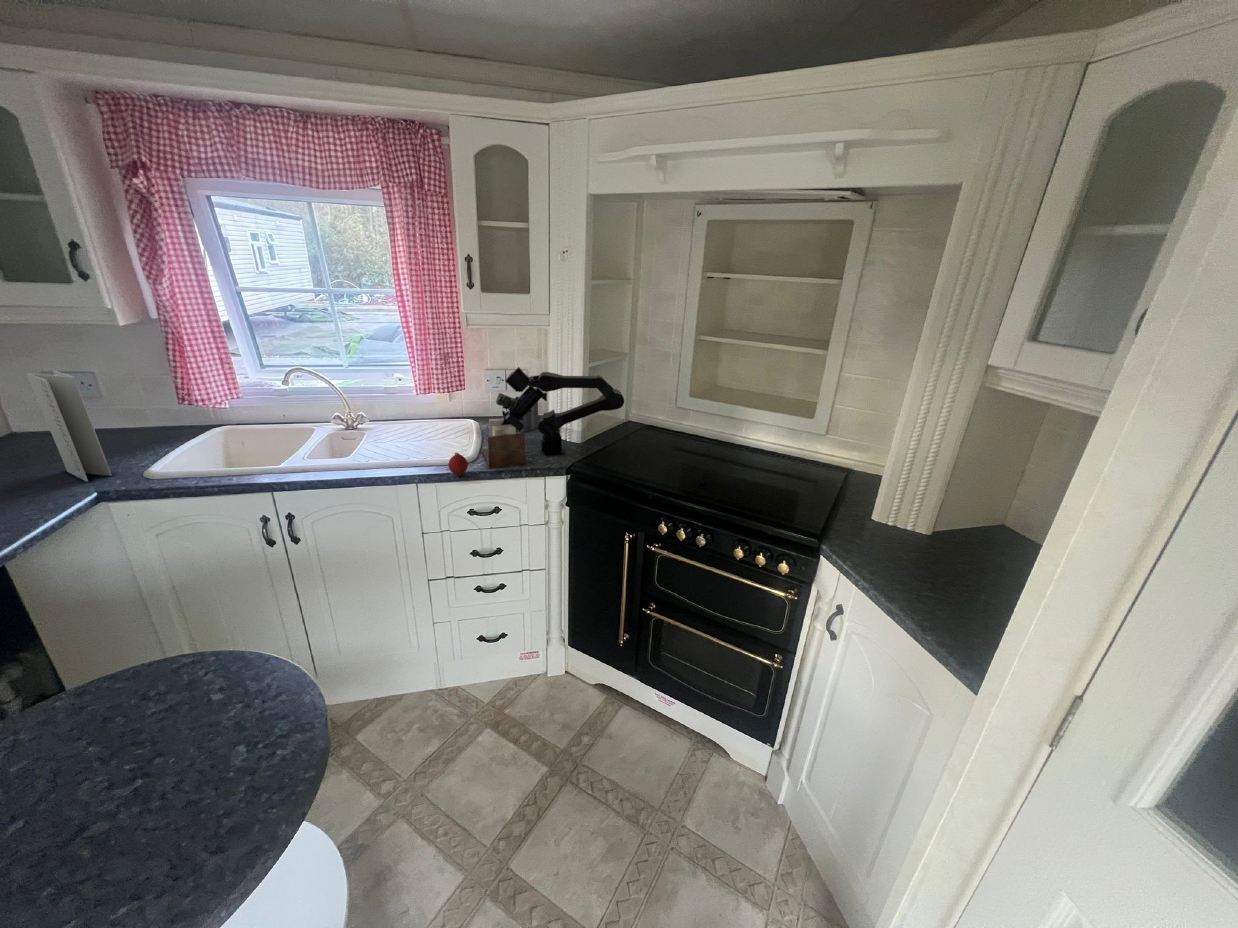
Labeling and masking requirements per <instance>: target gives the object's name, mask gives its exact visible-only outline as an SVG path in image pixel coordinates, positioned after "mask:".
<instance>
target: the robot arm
mask: <svg viewBox="0 0 1238 928" xmlns="http://www.w3.org/2000/svg"><path fill="white" fill-rule="evenodd" d="M504 382H505V383H506V384H507V385H508V386H509V387H510V388H512V389H513V390H514V391H515V392H516V393H521V394H520V396H516V397H511V396H509V395H506V394H505V393H501V392H499V393H498V394H497V397H496V399H495V402H496V405H498V406H499V407H500V406H501V407H502V410H501V411H502V413H501V414H502V418H501V419H503V418H504V421H503V423H502V424H501V425H512V426H513V427H515V428H516V429H517V430H518V431H517V432H520V431H521V430H522V429H523V422H522V420H523V417H524V416H525V415H526V414H527V413H528V412H531V411H532V410H531V408H532V407H533V406H534V405H535V404H536V403H537V402H538V403H539V401H540V400H541V399H542V400H543V401H545V402H547V401H548V398H547V397H548V392H553V391H557V390H562V389H597V390H598V391H599V392H600V393H601V396H600V397H598V398H597V399H593V400H591V401H589V402H586V403H583V404H581V405H579V406H575V407H573V408H570V409H568V410H565V411H562V412H555V409H552V410H550V411H548V412H543V415H541V416H540V417H539V418H538V428H537V429H538V431H539V433H540V434H542V439H541V442H540V443H541V451H542V453H543V454H544V455H545V456H555V455H563V454H564V451H563V447H562V446H563V444H562V442H563V438H562V437H563V436H562V435H561V428H562V427H563V426H565V425H567V424H570V423H572V422H575V421H578V420H581V419H583V418H587V417H588V416H592V415H593V414H596V413H599V412H607V411H615V410H619V409H622V407H623V406H624V404H625V398H624V396H623V394H622V392H621V391H620V390H619V389H617V388H614V387H613V386H612V385H611V384H609V382H607V381H606V380H605V379H604V377H603V376H602V375H562V374H558V373H555V372H550V371H542V372H541V373H540V374H539V375H531V376H528V375H527V374H526V373H525V372H524V371H523V370H522V368H521V367H519V366H518V367H517V368H516V369H515V370H513V371H512V372H511V373H509V374H508V375H507V377H505V379H504ZM514 398H515V399H514ZM503 409H504V410H503Z"/></svg>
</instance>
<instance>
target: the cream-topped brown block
mask: <svg viewBox="0 0 1238 928" xmlns="http://www.w3.org/2000/svg"><path fill="white" fill-rule="evenodd" d="M492 429H493V436H490V435H487V436H486V439H487V440H486V441H487V442H486V443H487V448H486V449H482V454H483V457H484V460H485V461H486V463H487V466H488V469H499V468H507V467H515V466H517V467H518V466H525V465H526V449H525V448H526V447H525V434H524V433H525V432H521V433H517V431H516V428H515V427H513V426H512V425H499V426H492Z"/></svg>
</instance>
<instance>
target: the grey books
mask: <svg viewBox="0 0 1238 928" xmlns="http://www.w3.org/2000/svg"><path fill="white" fill-rule="evenodd" d="M515 398H516V397H513V399H515ZM531 410H532V411H531V412H528V413H527V414H526V415H525V416H524V417H523V420H522V422H523V429H522V430H521V431H518V430H517V429H516V432H521V433H526V432H529V431H532V430H535V429H538V423H539V401H538V402H537V403H536V404H535V405H534V406H533V407H532V408H531Z"/></svg>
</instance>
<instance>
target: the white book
mask: <svg viewBox="0 0 1238 928" xmlns="http://www.w3.org/2000/svg"><path fill="white" fill-rule="evenodd" d="M503 421H504V418H503V419H502V418H489V419H488V424H489V436H493V429H492V426H499V425H501V424H502V423H503Z"/></svg>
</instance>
